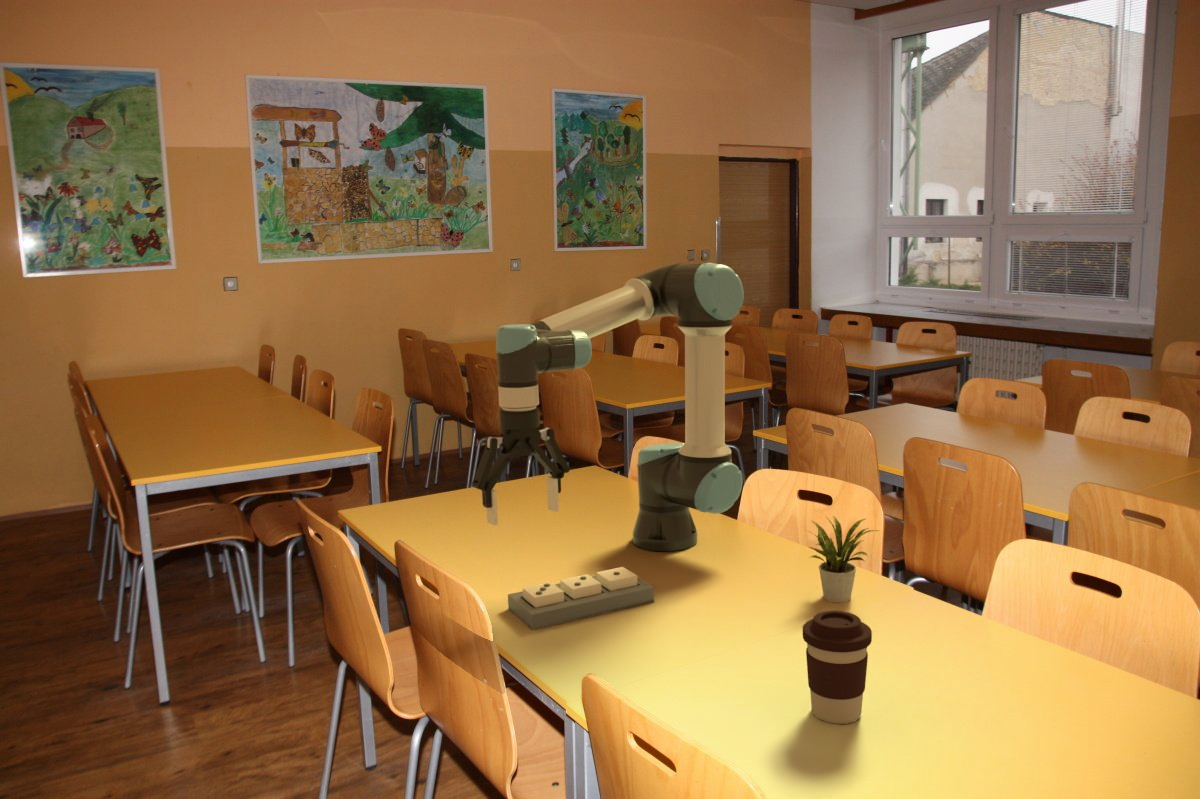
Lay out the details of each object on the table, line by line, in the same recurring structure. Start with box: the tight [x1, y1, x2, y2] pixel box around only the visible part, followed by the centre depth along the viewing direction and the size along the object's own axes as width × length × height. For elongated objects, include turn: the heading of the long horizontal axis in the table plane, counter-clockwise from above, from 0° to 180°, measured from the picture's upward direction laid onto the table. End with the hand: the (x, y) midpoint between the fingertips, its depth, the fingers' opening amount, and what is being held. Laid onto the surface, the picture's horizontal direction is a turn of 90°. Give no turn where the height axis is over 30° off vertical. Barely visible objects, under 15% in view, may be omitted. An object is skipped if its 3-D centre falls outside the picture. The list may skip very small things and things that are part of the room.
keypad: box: [507, 575, 655, 631], centre depth 191 cm, size 26×12×3 cm, turn 117°
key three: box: [522, 581, 564, 608], centre depth 187 cm, size 6×6×2 cm
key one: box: [595, 566, 638, 591], centre depth 194 cm, size 6×6×2 cm
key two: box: [559, 574, 601, 599], centre depth 191 cm, size 6×6×2 cm
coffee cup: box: [802, 609, 873, 725], centre depth 145 cm, size 10×10×15 cm
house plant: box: [806, 515, 879, 603], centre depth 189 cm, size 14×14×16 cm
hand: (523, 516), depth 186 cm, fingers open, 13 cm apart
